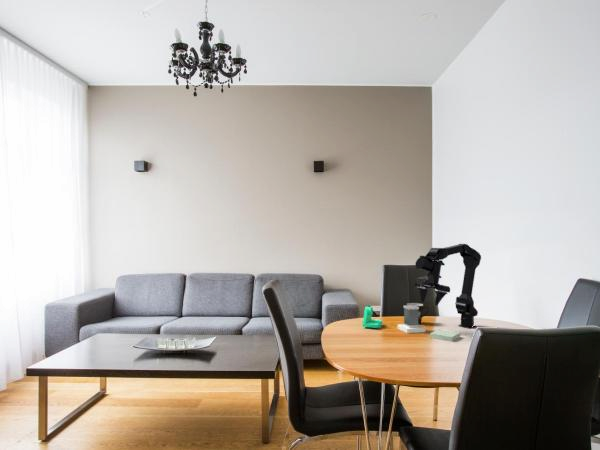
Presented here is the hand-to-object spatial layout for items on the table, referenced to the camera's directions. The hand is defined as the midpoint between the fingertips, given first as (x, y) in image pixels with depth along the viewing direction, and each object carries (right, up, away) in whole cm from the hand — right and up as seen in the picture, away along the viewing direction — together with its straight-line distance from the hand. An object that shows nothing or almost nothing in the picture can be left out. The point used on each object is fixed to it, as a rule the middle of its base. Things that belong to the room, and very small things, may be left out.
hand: (429, 303), depth 193 cm
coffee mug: (0, -15, +19) cm, 24 cm away
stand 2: (+4, -14, -10) cm, 18 cm away
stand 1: (-8, -14, +4) cm, 16 cm away
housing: (-8, -12, +4) cm, 15 cm away
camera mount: (-26, -15, +12) cm, 32 cm away
